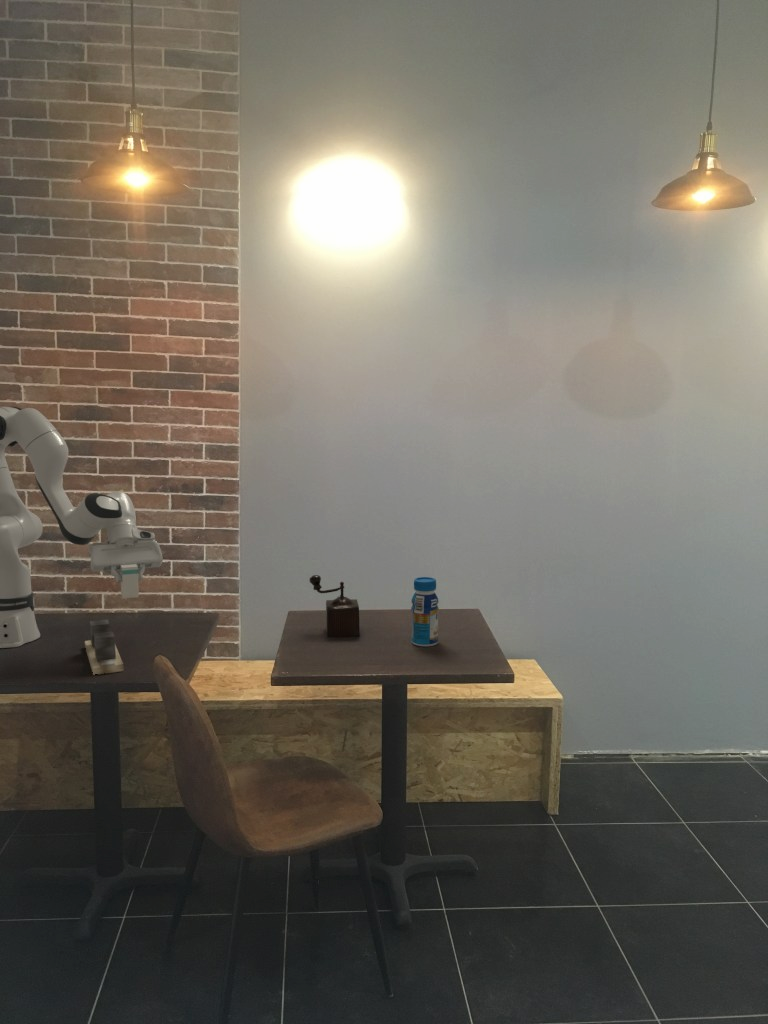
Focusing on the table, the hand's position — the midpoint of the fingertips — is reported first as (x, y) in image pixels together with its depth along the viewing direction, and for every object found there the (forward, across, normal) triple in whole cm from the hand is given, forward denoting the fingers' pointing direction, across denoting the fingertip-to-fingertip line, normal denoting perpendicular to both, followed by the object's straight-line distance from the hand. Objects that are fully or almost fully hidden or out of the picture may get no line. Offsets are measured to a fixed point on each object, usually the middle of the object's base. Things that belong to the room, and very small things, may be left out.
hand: (129, 580), depth 238 cm
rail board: (+16, -8, +16) cm, 24 cm away
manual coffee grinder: (+18, +62, +12) cm, 66 cm away
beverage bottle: (+34, +83, -4) cm, 89 cm away
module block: (+3, 0, +4) cm, 5 cm away
